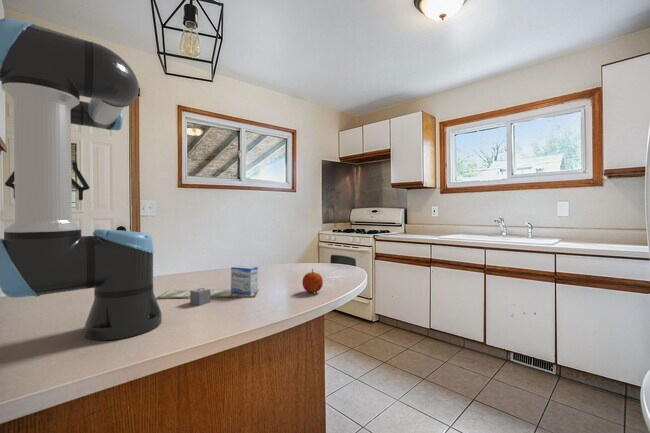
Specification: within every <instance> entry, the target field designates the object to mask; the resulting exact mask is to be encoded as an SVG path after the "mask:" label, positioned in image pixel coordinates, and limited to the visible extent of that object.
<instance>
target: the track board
mask: <svg viewBox="0 0 650 433" xmlns="http://www.w3.org/2000/svg"><path fill="white" fill-rule="evenodd" d="M190 291H192V289H191V290H187V289H186V290H167V291H165V292H163V293H162V294H160V295H158V296H157V297H155V298H156V300H171V299H172V300H173V299H174V300H176V299H177V300H178V299H179V300H180V299H185V300H186V299H190ZM259 291H260V289H259V290H258V292H259ZM256 294H257V295H258V293H257V292H256V293H254V294H252V295H247V294H236V293H231V289H210V298H211V299H228V298H229V299H231V298H233V299H234V298H235V297H244V298H256V296H257V295H256ZM235 299H236V298H235Z"/></svg>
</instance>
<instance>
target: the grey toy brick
mask: <svg viewBox="0 0 650 433" xmlns="http://www.w3.org/2000/svg"><path fill="white" fill-rule="evenodd" d="M191 290H192V289H191ZM210 290H211V289H209V288H205V287H204V288H203V287H200V288H196V289H193V290H192V291H190V298H189V300H190V301H189V304H190V305H193V306H198V307H201V306H204V305H207V304H210V303H211V299H212V298H210Z"/></svg>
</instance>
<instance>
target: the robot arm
mask: <svg viewBox="0 0 650 433" xmlns="http://www.w3.org/2000/svg"><path fill="white" fill-rule="evenodd" d="M0 82H1V90H2V91H3V92H5V93H6V94H7V95H8V96H9V97H10V98H11V99H12V102H13V104H12V105H13V112H12V113H13V162H14V163H13V166H14V167H13V169H14V170H13V172H12V173H11V174H10V176H9V177H8V178H7V179H6V181H5V183H4V186H6V187H8V188H12V189H13V199H14V221H13V223H11V224H10V225H9V226H8V227H6V228H4V230H3V238H0V290H1V293H2V294H4V295H5V296H7V297H8V298H13V299H16V298H25V297H27V298H28V297H37V298H38V297H40V296H44V295H49V294H50V295H52V294H58V293H66V292H67V293H68V292H73V291H74V292H75V291H79V290H80V291H81V290H88V289H94V290H93V293H94V300H93V302H92V305H91V308H90V311H89V313H88V316H87V318H86V322H85V324H84V336H85V337H86V338H88V339H90V340H94V341H110V340H111V341H112V340H118V339H119V340H120V339H126V338H130V337H135V336H140V335H142V334H144V333H148V332H149V331H152V330H154V329H155V328H157V327H159V326H160V325H161V324H162V322H163V321H162V319H163V318H162V311H161V308H160V305H159V303H158V299H156V298H157V297H156V295H155V293H154V254H155V251H154V244H153V243H154V242H153V239H152V238H153V237H152V236H151V235H150V234H148V233H147V232H140V231H133V230H131V231H130V230H122V229H121V230H118V229H102V228H101V229H100V228H99V229H98V228H96V229H94V231H93V232H92V235H83V236H82V227H81V226H79V225H78V224H77V223H76V222H74V221H73V209H72V208H73V204H72V203H73V200H72V199H73V198H72V197H73V196H72V195H73V194H72V186H73V187H74V188H75V189H76V190H75V193H74V194H75V210H76V211H79V210H80V202H79V201H83V200H84V191H87V190H90V188H91V187H90V186H89V184H88V183H87V181H86V179H85V178H84V175H82V172H80V170H79V168H78V163H77V161H72V135H71V134H72V127H71V125H75V126H76V125H77V126H82V127H83V126H84V127H92V128H97V129H103V130H107V131H120V130H121V129H122V126H123V112H122V111H123V110H124V108H126V107H129V106H131V105H133V103H134V102H135V101H136V99H137V98H138V95H139V91H140V90H139V88H140V86H139V81H138V78H137V75H136V74H135V72H134V70H133V69H132V68H131V66H130V65H129V64H128V62H126V61H125V60H124V59H123V58H122V57H121V56H120V55H118V53H116V52H114V51H113V50H111V49H110V48H108V47H105V46H104V45H102V44H99V43H96V42H94V41H88V40H85V39H82V38H79V37H75V36H72V35H69V34H66V33H63V32H59V31H57V30H52V29H51V28H50V29H49V28H46V27H42V26H39V25H37V24H35V23H33V22H26V21H21V20H19V19H15V18H14V19H13V18H9V17H3V18H1V19H0ZM80 97H85V98H90V99H89V102H86V101H82V100H80ZM72 170H73V171H72ZM72 172H74V174H75V175H76V178H78V181H79V182H80V183H81V185H82V186H81V185H80V184H79V183H78V182H77V181H75V179H73V178H72Z"/></svg>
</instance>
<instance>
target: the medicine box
mask: <svg viewBox="0 0 650 433" xmlns="http://www.w3.org/2000/svg"><path fill="white" fill-rule="evenodd" d="M258 280H259V268H258V266H249V265H247V266H246V265H235V266H232V267H231V268H230V290H231V293H236V294H247V295H252V294H254V293H256V292H258V293H259V291H258V289H259V284H258V283H259V281H258Z"/></svg>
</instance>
